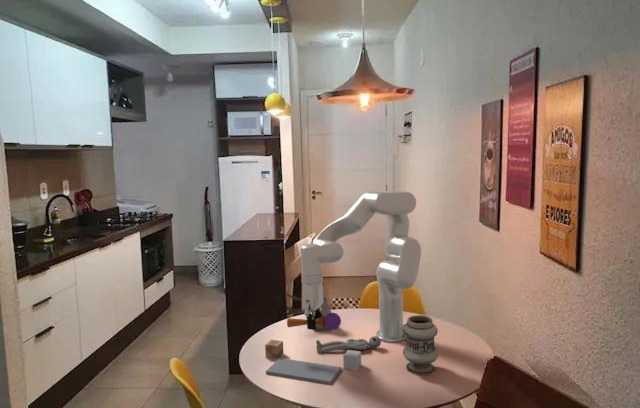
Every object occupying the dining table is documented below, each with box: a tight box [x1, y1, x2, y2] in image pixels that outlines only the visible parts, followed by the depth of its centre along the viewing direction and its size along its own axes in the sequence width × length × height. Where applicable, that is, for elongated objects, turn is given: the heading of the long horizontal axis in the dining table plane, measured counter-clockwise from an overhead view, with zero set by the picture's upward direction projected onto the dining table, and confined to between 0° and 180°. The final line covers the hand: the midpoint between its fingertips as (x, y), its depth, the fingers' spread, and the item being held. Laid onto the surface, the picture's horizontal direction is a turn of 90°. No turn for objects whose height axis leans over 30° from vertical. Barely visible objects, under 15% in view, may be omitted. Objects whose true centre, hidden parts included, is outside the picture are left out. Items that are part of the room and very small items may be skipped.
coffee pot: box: [285, 294, 332, 331], centre depth 204 cm, size 21×12×15 cm, turn 87°
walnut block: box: [264, 339, 284, 360], centre depth 177 cm, size 5×5×5 cm
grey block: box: [342, 349, 362, 372], centre depth 166 cm, size 5×5×5 cm
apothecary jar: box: [402, 314, 439, 376], centre depth 162 cm, size 12×12×18 cm
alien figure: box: [315, 335, 382, 354], centre depth 181 cm, size 8×5×25 cm
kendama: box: [286, 312, 342, 331], centre depth 171 cm, size 6×6×20 cm
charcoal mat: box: [265, 357, 342, 385], centre depth 163 cm, size 24×11×1 cm, turn 68°
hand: (314, 325), depth 171 cm, fingers closed on kendama, 5 cm apart
